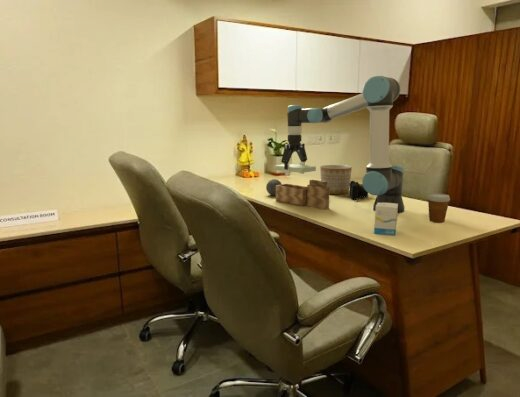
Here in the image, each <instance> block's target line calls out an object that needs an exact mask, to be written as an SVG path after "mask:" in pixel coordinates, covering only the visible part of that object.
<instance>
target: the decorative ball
mask: <svg viewBox="0 0 520 397" xmlns="http://www.w3.org/2000/svg"><path fill="white" fill-rule="evenodd" d="M281 184H283V183H282V182H281V181H280V180H278V179H271V180H268V182H267V184H266V187H265V189H266V192H267V194H269V195H270V196H273V197H274V196H275V197H276V185H281Z"/></svg>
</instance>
